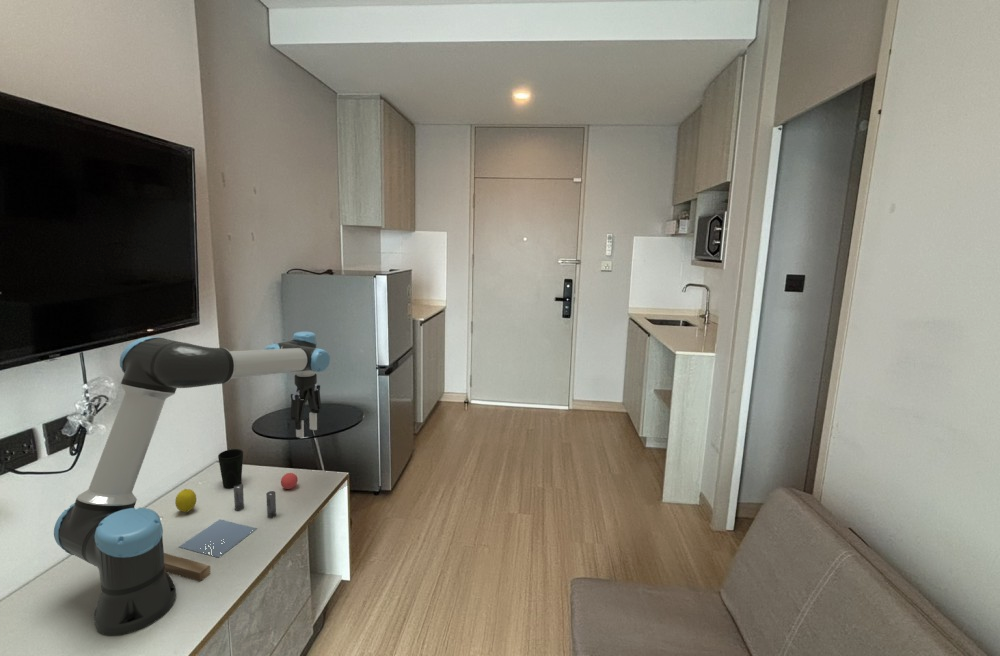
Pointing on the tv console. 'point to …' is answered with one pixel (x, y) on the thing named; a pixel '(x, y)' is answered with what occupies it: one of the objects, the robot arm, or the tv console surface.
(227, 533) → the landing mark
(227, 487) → the cup
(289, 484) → the ball
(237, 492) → the post left
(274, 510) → the post right
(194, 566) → the wall
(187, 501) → the lemon
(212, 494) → the tv console surface
